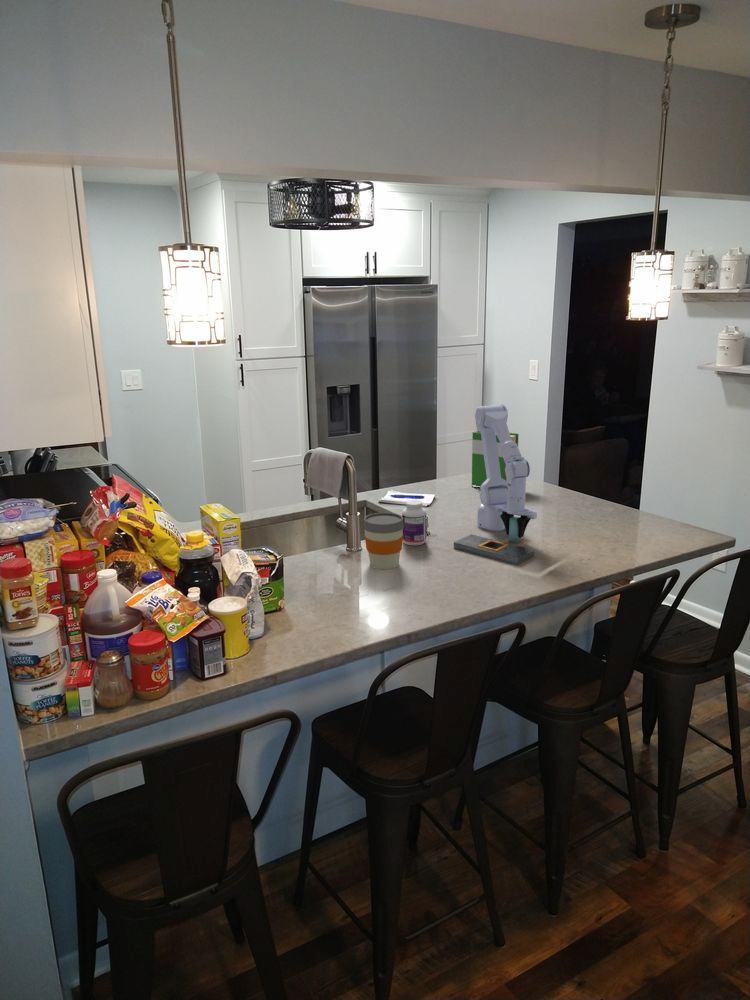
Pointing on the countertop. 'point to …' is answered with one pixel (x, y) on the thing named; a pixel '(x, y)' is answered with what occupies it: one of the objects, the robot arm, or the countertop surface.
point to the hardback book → (479, 462)
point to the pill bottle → (414, 523)
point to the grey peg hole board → (499, 552)
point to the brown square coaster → (523, 541)
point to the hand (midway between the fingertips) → (514, 535)
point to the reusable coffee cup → (384, 539)
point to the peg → (513, 530)
